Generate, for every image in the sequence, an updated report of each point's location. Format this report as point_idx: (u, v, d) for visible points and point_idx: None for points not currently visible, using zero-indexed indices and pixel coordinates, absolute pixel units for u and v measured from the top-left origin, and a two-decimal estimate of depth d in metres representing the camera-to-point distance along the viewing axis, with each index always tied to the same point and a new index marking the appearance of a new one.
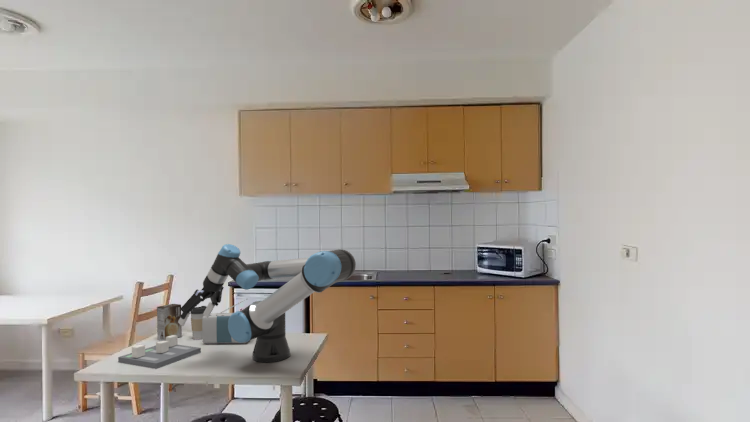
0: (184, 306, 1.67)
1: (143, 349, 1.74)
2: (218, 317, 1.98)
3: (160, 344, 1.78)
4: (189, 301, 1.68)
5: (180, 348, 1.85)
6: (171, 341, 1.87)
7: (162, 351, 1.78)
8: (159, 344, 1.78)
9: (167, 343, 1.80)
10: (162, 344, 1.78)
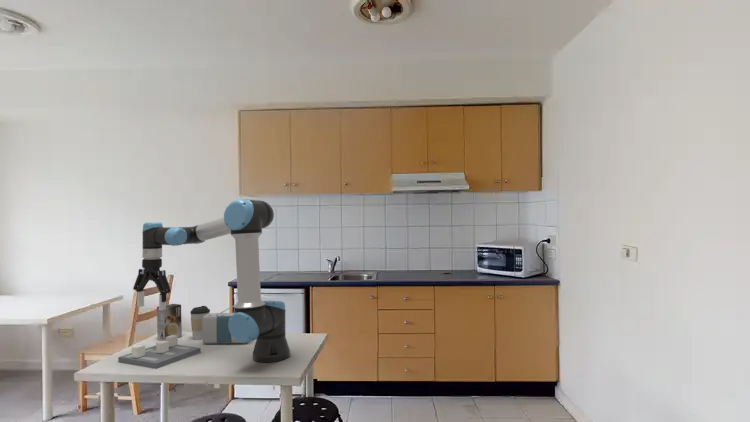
0: (166, 288, 1.79)
1: (143, 349, 1.74)
2: (218, 317, 1.98)
3: (160, 344, 1.78)
4: (164, 282, 1.80)
5: (180, 348, 1.85)
6: (171, 341, 1.87)
7: (162, 351, 1.78)
8: (159, 344, 1.78)
9: (167, 343, 1.80)
10: (162, 344, 1.78)
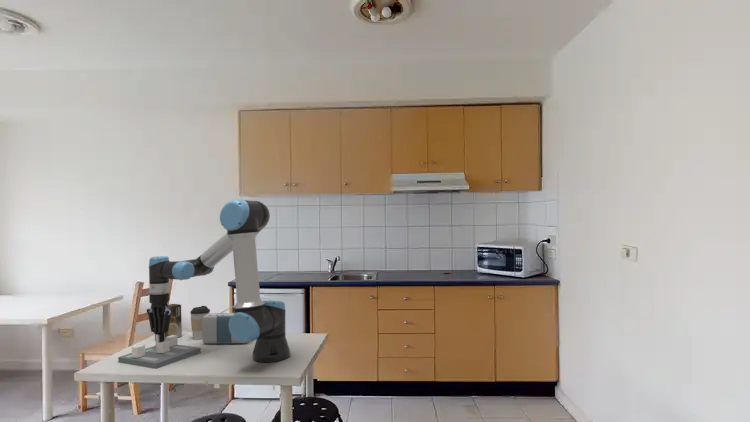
0: (165, 328, 1.79)
1: (143, 349, 1.74)
2: (218, 317, 1.98)
3: (161, 344, 1.77)
4: (166, 322, 1.79)
5: (180, 348, 1.85)
6: (171, 341, 1.87)
7: (163, 351, 1.78)
8: (160, 344, 1.78)
9: (168, 343, 1.80)
10: (163, 344, 1.78)
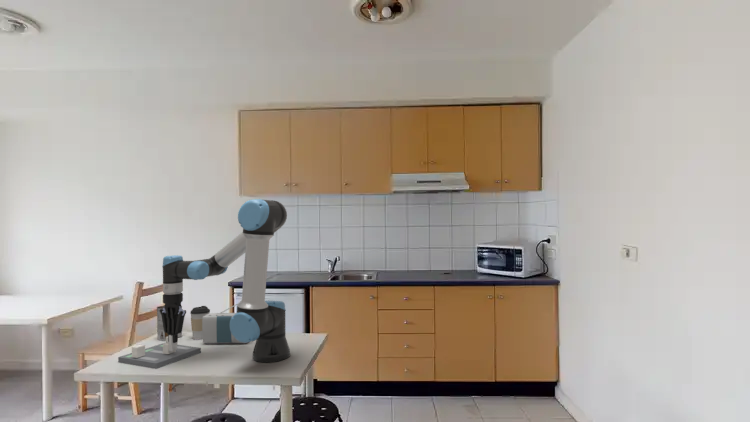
0: (179, 329, 1.75)
1: (143, 349, 1.74)
2: (218, 317, 1.98)
3: (167, 345, 1.76)
4: (180, 323, 1.75)
5: (180, 348, 1.85)
6: None
7: (169, 352, 1.76)
8: (166, 345, 1.76)
9: None
10: None
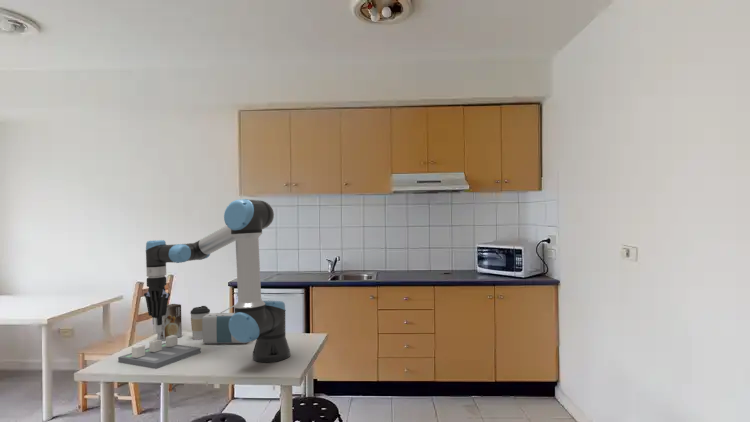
0: (162, 311, 1.79)
1: (143, 349, 1.74)
2: (218, 317, 1.98)
3: (153, 343, 1.79)
4: (164, 305, 1.79)
5: (180, 348, 1.85)
6: (171, 341, 1.87)
7: (155, 350, 1.80)
8: (152, 343, 1.80)
9: (160, 342, 1.82)
10: (155, 343, 1.80)
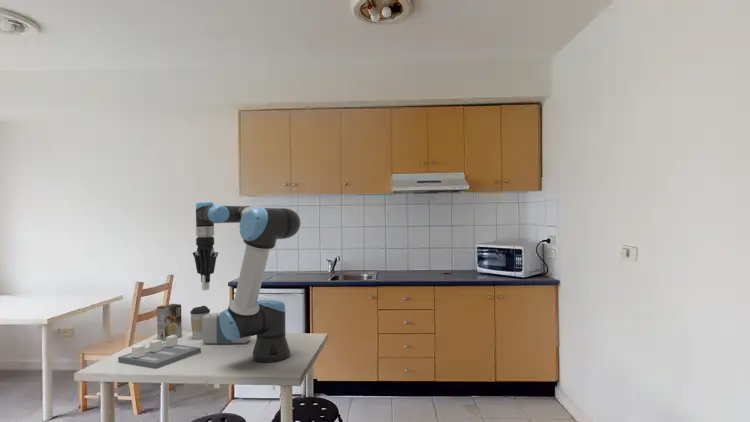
0: (211, 269, 1.89)
1: (143, 349, 1.74)
2: (218, 317, 1.98)
3: (153, 343, 1.79)
4: (212, 264, 1.89)
5: (180, 348, 1.85)
6: (171, 341, 1.87)
7: (155, 350, 1.80)
8: (152, 343, 1.80)
9: (160, 342, 1.82)
10: (155, 343, 1.80)
